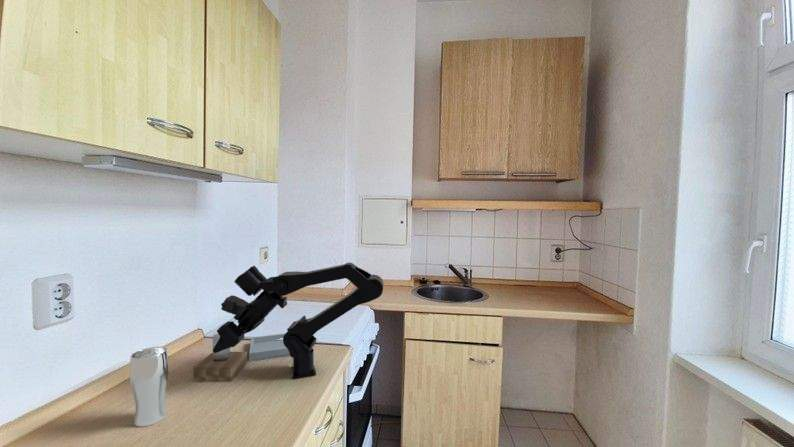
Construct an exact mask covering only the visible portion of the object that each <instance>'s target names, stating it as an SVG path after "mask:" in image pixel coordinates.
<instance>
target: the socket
mask: <svg viewBox="0 0 794 447" xmlns="http://www.w3.org/2000/svg"><path fill="white" fill-rule="evenodd" d="M247 352H248V351H230V356H229V357H228V358H227V360H226V361H216V359H213V351H212V352H211V353H210V354H209V355H207V356H206V357H205V358H204V359H202V360H201V361H199V363H197V364H196V365H194V367H193V382H194V383H196V382H197V383H201V382H204V383H205V382H207V383H210V382H211V383H212V382H213V383H214V382H215V383H216V382H219V383H220V382H228V383H230V382H232V381H233V380H234V379H235V378H236V377H237V376H238V375H239V374H240V373H241V371H242V370H243V369H244V368H245V367H246V366H247V365H248V364H247V363H248V362H247V361H248V356H247V355H248V353H247Z"/></svg>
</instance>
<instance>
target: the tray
mask: <svg viewBox="0 0 794 447" xmlns="http://www.w3.org/2000/svg"><path fill="white" fill-rule="evenodd" d="M285 333H286V332H283V333H279V334H278V333H277V334H269V335H261V336H253V337H251V338H250V347H249V353H248V360H249V362H254V361H256V362H257V361H261V360H268V359H277V358H283V357H289V356H290V353H289V351H288V348H286V347H285V345H284V343H283V341H276V340H277V339H280V338H283V337H284V335H285ZM290 357H291V356H290Z"/></svg>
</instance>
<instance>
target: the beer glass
mask: <svg viewBox="0 0 794 447" xmlns="http://www.w3.org/2000/svg"><path fill="white" fill-rule="evenodd" d="M129 357H130V361H129V362H130V363H129V383H130V388H131V389H130V390H131V392H132V395H133V396H132V397H133V400H134V405H135V412H134V417H133V425H134V426H135V427H140V428H141V427H142V428H145V427H149V426H152V425H155V424H157V423H159V422H161V421H163V420H164V419H165V418H166V417H167V415H168V408H167V405H166V391H167V385H168V380H169V379H168V378H169V372H170V371H169V365H170V364H169V355H168V348H167V347H165V346H152V347H151V346H150V347H147V348H143V349H140V350H137V351H134V352H133V353H132V354H130V356H129Z"/></svg>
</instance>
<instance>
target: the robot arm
mask: <svg viewBox="0 0 794 447" xmlns="http://www.w3.org/2000/svg"><path fill="white" fill-rule="evenodd" d="M344 279H346V280H348V281H349V282H351V284H352V285H353V286H355V288H354V290H353V291H351V292H349V293H348V294H346V295H345V296H343V297H342V298H341V299H339V300H337V301H336V302H334V303H333V304H331V305H329V306H328V307H326V308H325V309H324V310H322V311H320V312H319V313H317V314H315V315H314V316H313V317H309V318H307V317H306V315H303V316H301V318H300V319H298V320H296V321H293V322H292V323H291V324H290V326H288V327H287V329H286V332H284V333H285V335H284V337H283V343H284V345H285V347H286V348H288V351H289V353H290V358H292V367H291V368H290V369H291V378H292V379H293V380H294V379H299V378H306V377H312V376H316V375H317V371H316V368H315V364H314V362H315V361H314V360H315V359H314V358H315V357H314V350H315V349H314V346H315V345H316V343H317V340H318V339H317V338H316V337H315V334H316V333H317V332H318V331H320V330H322V329H323V328H324V327H326V326H328V325H329V324H331V323H332V322H334V321H336V320H337V319H339V318H340V317H342V316H343V315H344V314H346V313H348V312H349V311H351V310H353V309H354V308H356V307H358V306H360V305H363V304H367V303H369V302H372V301H374V300H375V301H376V299H378V298H380V297H381V296H382V295H383V292H384V284H385V283H384V280H383V279H382V277H381V276H380V275H378V274H371V273H370V272H368V271H367V270H364V269H362V268H360V267H359V266H357V265H355V264H354V263H353V262H346V263H343V264H339V265H338V264H337V265H334V266H329V267H324V268H321V269H314V270H310V271H285V272H282V273H280V274H279V275H278V276H277V275H276V276H271V277H270V276H269V277H268V278H267V277H265V275H264V274H263V273H261V272H260V270H259V269H258V267H257V266H256V265H252V266H250V267H249V268H248V269H247V270H245V271H244V272H243V273H241V274H239V275H238V277H236V278H235V280H234V283H235V285H236V286H238V287H239V288H240V289H241V291H243V293H245V294H246V295H247V296H248V297H251V296H254V297H255V296H256V297H255V298H254V299H253V300H252V301H250V302H248V301H246V300H245V299H242V298H240V297H239V296H236V295H229V296H228V297H225V299H224V301H222V303H221V304H220V306H221V308H220V309H221V311H224V312H225V313H228V314H231V315H234V316H232V317H233V319H234V320H235V321H237V323H238V324H236V323H235V322H234V321H231V320H230V321H229V320H228V321H226V322H224V323H223V324H222V325H221V326H220V327H219V328H218V329H216V334H219V335H220V338H219V340H218V342H217V343H216V345H215V347H214V349H213V348H212V352H214V353H217V352H220V351H222V350H225V349H227V348H230V349H231V348H235V347H236V346H237V345H238V344H240V342H241V341H242V340H243V339H244V338H245V334H248V333H250V332H252V331H254V330H256V328H258V327H259V326H260V325H262V323H264V321H265V318H266V317H268V315H269V314H270V313H271V312H272V311H273V310H274V309H275V308H276V307H277V306H279V308H281V309H284V308H285V307H287V306H288V300H287V299H288V296H287V295H290V294H293V293H295V292H297V291H299V290H301V289H303V288H306V287H310V286H315V285H319V284H324V283H328V282H329V283H330V282H334V281H339V280H344ZM257 294H259V295H257Z"/></svg>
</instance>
